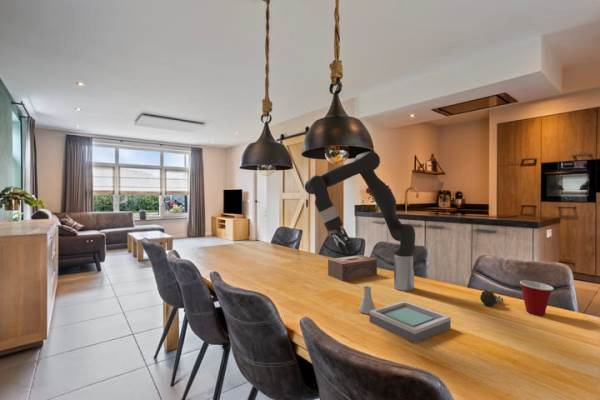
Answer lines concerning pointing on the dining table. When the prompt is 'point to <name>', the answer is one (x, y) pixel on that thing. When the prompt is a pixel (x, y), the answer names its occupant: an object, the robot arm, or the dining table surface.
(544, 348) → the dining table surface
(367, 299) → the flask
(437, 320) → the grey square tray
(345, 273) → the tissue box cover
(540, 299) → the plastic cup
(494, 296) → the figurine
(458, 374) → the dining table surface
